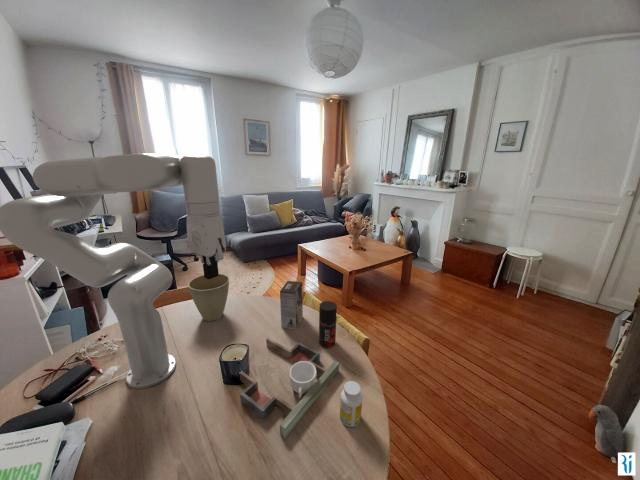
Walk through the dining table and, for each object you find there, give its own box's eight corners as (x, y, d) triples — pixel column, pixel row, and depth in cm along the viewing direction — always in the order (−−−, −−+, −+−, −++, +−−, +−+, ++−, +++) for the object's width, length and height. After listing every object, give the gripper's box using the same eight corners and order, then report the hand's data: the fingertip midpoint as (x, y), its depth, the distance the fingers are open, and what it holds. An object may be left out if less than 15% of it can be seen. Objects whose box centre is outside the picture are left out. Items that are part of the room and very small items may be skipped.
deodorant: (321, 349, 88) (322, 311, 83) (316, 338, 93) (317, 302, 89) (337, 346, 89) (339, 309, 85) (332, 335, 95) (333, 300, 90)
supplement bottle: (341, 428, 62) (343, 398, 59) (337, 408, 67) (339, 379, 64) (363, 426, 62) (365, 396, 59) (358, 406, 67) (360, 377, 64)
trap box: (217, 384, 73) (216, 375, 72) (277, 338, 93) (277, 331, 92) (285, 438, 59) (284, 428, 58) (338, 370, 79) (339, 362, 78)
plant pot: (203, 332, 95) (197, 294, 91) (187, 316, 105) (182, 281, 100) (239, 315, 106) (236, 281, 101) (222, 302, 115) (218, 270, 111)
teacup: (292, 374, 77) (292, 360, 76) (317, 376, 77) (317, 362, 75) (285, 404, 68) (284, 388, 66) (314, 407, 67) (314, 391, 65)
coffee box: (288, 314, 107) (287, 280, 102) (303, 316, 106) (302, 281, 101) (280, 327, 99) (279, 290, 94) (296, 330, 97) (296, 292, 93)
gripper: (172, 207, 63) (182, 274, 69) (207, 214, 55) (216, 290, 61) (200, 203, 69) (208, 266, 75) (235, 210, 61) (241, 279, 67)
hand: (211, 276), depth 68 cm, fingers closed
